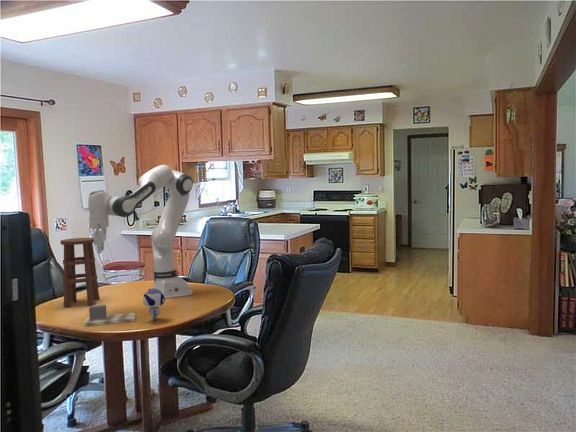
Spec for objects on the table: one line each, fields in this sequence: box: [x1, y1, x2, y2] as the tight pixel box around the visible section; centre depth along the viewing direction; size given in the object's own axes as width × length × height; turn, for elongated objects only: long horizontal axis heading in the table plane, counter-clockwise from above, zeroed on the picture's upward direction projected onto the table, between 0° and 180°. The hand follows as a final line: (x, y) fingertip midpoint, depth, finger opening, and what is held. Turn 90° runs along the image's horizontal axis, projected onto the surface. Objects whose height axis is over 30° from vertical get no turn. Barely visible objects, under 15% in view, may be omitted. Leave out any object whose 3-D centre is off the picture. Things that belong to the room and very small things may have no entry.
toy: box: [142, 288, 166, 321], centre depth 223 cm, size 11×10×15 cm
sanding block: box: [88, 304, 108, 321], centre depth 223 cm, size 7×4×6 cm, turn 106°
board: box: [83, 312, 137, 327], centre depth 225 cm, size 22×10×2 cm, turn 106°
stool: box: [59, 237, 100, 309], centre depth 259 cm, size 20×35×20 cm
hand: (100, 251), depth 235 cm, fingers open, 8 cm apart
